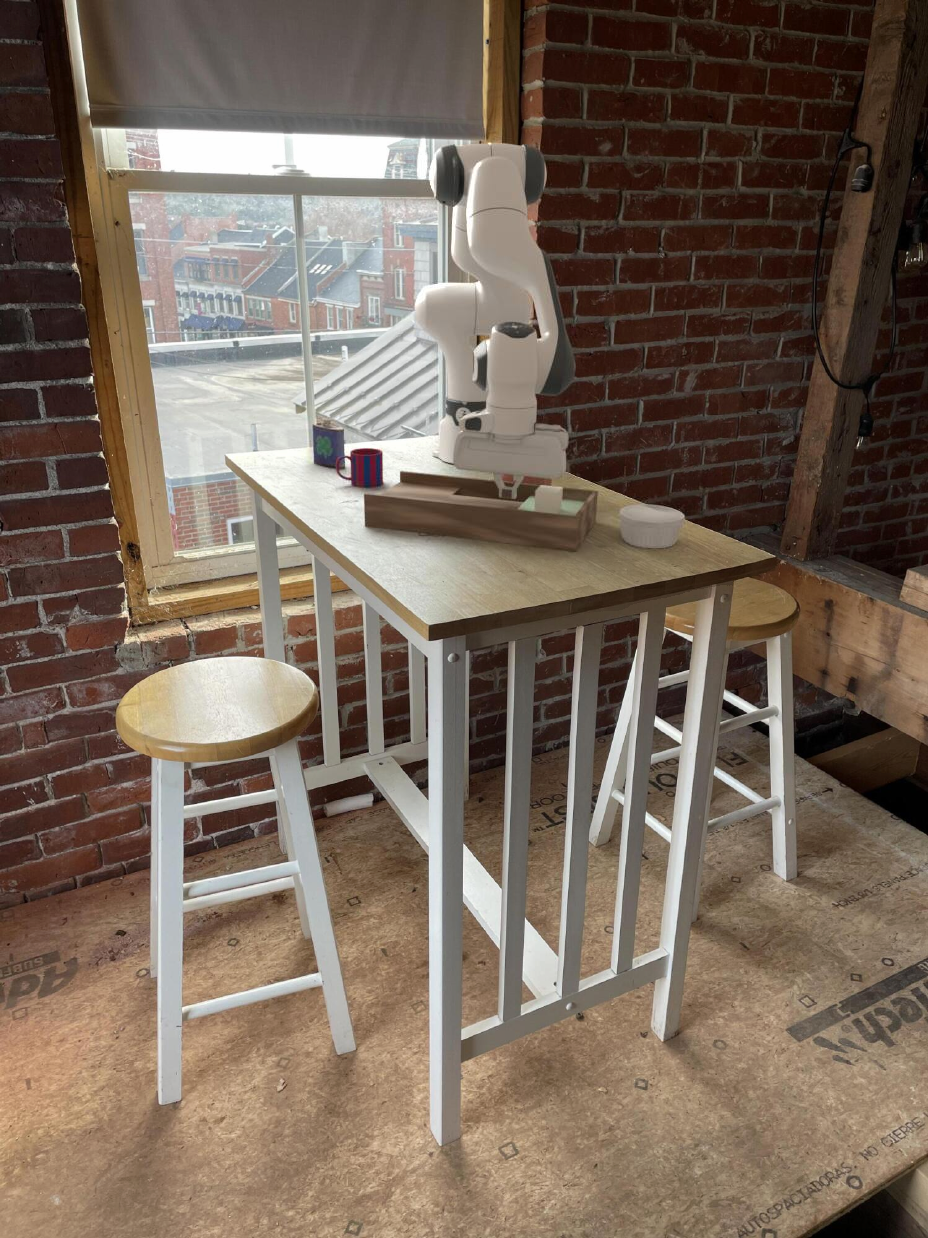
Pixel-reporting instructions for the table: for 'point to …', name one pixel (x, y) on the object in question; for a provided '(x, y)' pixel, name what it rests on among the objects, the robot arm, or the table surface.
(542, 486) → the block
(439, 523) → the box
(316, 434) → the flask
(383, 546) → the table surface
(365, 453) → the mug
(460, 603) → the table surface
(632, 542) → the ramekin
